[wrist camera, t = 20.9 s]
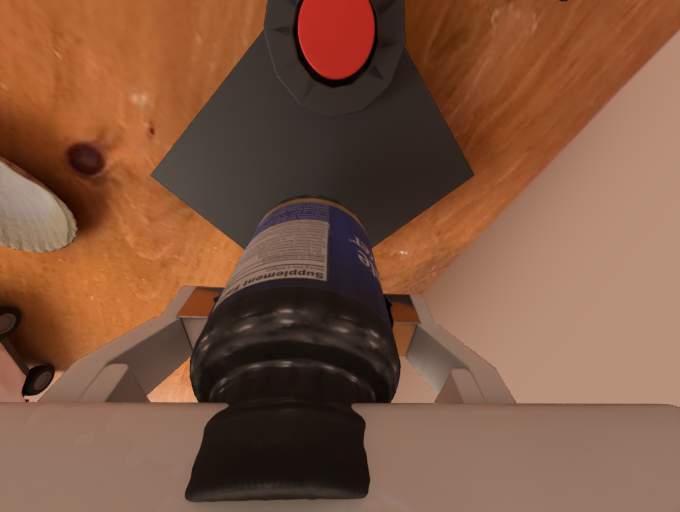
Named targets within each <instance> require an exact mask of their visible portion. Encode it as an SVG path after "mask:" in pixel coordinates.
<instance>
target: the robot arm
mask: <svg viewBox="0 0 680 512" xmlns="http://www.w3.org/2000/svg"><path fill="white" fill-rule="evenodd" d="M224 289H225V288H222V287H205V286H183V287H182V288H181V289H180V290H179V291H178V293H177V294H176V295H175V297H174V298H173V299H172V301H171V302H170V303H169V305H168V306H167V307H166V309H165V310H164V311H163V313H162V314H161V315H160V317H154V318H152V319H150V320H149V321H147V322H145V323H143V324H141V325H140V326H138V327H136V328H134V329H132V330H131V331H129V332H127V333H125V334H123V335H122V336H120V337H118V338H116V339H114V340H113V341H111V342H109V343H107V344H105V345H104V346H102V347H100V348H98V349H96V350H95V351H93V352H91V353H89V354H87V355H86V356H84V357H82V358H80V359H78V360H77V361H75V362H74V363H73V364H72V365H71V366H70V367H69V368H68V369H67V370H66V371H65V372H64V373H63V374H62V376H61V377H60V378H59V379H58V380H57V381H56V382H55V383H54V384H53V385H52V386H51V387H50V389H49V390H48V391H47V392H46V393H45V394H44V395H43V396H42V397H41V398H40V399H39V400H38V401H37V402H0V512H680V407H677V406H673V405H669V404H517V403H516V401H515V400H514V398H513V396H512V395H511V393H510V391H509V390H508V388H507V387H506V385H505V383H504V381H503V380H502V378H501V376H500V375H499V373H498V371H497V370H496V368H495V367H493V366H492V365H491V364H490V363H488V362H487V361H486V360H484V359H483V358H482V357H480V356H479V355H478V354H477V353H475V352H474V351H473V350H471V349H470V348H469V347H468V346H466V345H465V344H464V343H462V342H461V341H460V340H458V339H457V338H456V337H455V336H453V335H452V334H450V333H449V332H448V331H447V330H445V329H444V328H443V327H442V326H440V325H436V324H435V322H434V320H433V318H432V316H431V314H430V312H429V309H428V307H427V305H426V303H425V301H424V299H423V296H422V295H421V294H386V293H384V294H383V296H384V299H385V303H386V307H387V311H388V315H389V319H390V322H391V326H392V330H393V334H394V338H395V341H396V346H397V350H398V354H399V356H406V358H407V359H408V361H409V362H410V363H411V364H412V365H413V367H414V368H415V369H416V370H417V371H418V373H419V374H420V375H421V376H422V377H423V378H424V380H425V381H426V382H427V383H428V384H429V386H430V387H431V388H432V389H433V390H434V391H435V393H436V394H437V395H438V397H437V398H436V400H435V402H434V403H354V404H352V405H351V407H352V409H353V410H354V411H355V412H357V413H358V414H359V415H361V416H362V417H363V419H364V420H365V422H366V428H365V433H364V448H365V451H366V453H367V462H368V468H369V474H370V485H369V491H368V495H367V496H366V497H365V498H362V499H333V500H331V499H316V500H309V499H298V500H269V501H261V500H249V501H216V502H189V501H188V500H186V499H185V490H186V488H187V486H188V483H189V481H190V478H191V472H192V467H193V464H194V462H195V459H196V456H197V454H198V452H199V449H200V446H201V443H202V439H203V432H204V427H205V426H206V424H207V422H208V421H209V420H210V419H211V418H212V417H213V416H214V415H215V414H216V413H218V412H219V411H221V410H223V409H225V408H227V407H228V406H229V405H228V404H227V403H167V402H150V400H149V399H148V397H147V395H148V394H149V393H150V392H151V391H152V390H154V389H155V388H156V387H157V386H158V385H159V384H160V383H161V382H163V381H164V380H165V379H166V378H167V377H168V376H169V375H170V374H172V373H173V372H174V371H175V370H176V369H177V368H178V367H179V366H181V365H182V364H183V363H184V362H185V361H186V360H187V359H188V358H190V357H191V355H192V352H193V349H194V346H195V342H196V341H197V339H198V338H199V336H200V334H201V332H202V330H203V328H204V326H205V324H206V322H207V320H208V318H209V316H210V315H211V313H212V311H213V309H214V307H215V305H216V303H217V302H218V300H219V298H220V296H221V294H222V292H223V290H224Z"/></svg>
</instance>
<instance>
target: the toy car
mask: <svg viewBox="0 0 680 512" xmlns="http://www.w3.org/2000/svg"><path fill="white" fill-rule="evenodd" d="M20 320H21V315H20V312H19V311H18V310H17V309H15V308H12V307H8V306H0V402H29V400H27V399H26V400H25V399H24V396H25V395H26V396H33V395H37V394H39V393H41V392H42V391H44V390H45V389H46V388H47V387H48V386H49V384H50V383H51V381H52V380H53V377H54V373H55V371H54V368H53V367H51V366H47V365H39V366H35V367H33V368H31V369H30V370H29V368H28V367H27V365H26V364H25V363H24V361H23V360H22V358H21V357H20V356H19V354H18V353H17V351H16V350H15V348H14V347H13V346H12V344H11V343H10V341H9V340H8V339H7V336H8V335H10V334H11V333H12V332H13V331H14V330H15V329H16V328H17V327H18V325H19V323H20Z"/></svg>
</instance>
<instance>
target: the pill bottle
mask: <svg viewBox="0 0 680 512" xmlns="http://www.w3.org/2000/svg"><path fill="white" fill-rule="evenodd" d="M400 368H401V365H400V359H399V354H398V350H397V346H396V341H395V338H394V334H393V330H392V326H391V322H390V319H389V315H388V311H387V307H386V303H385V299H384V296H383V292H382V288H381V283H380V280H379V275H378V272H377V267H376V264H375V261H374V257H373V253H372V249H371V246H370V242H369V238H368V234H367V231H366V229H365V227H364V224H363V223H362V221H361V220H360V218H359V217H358V216H357V215H356V214H355V213H354V212H352V211H351V210H348V209H347V208H346V207H345V206H344V205H343V204H342V203H341V202H340V201H338V200H335V199H333V198H329V197H327V196H322V195H317V194H311V195H301V196H296V197H291V198H288V199H285V200H283V201H282V202H280V203H278V204H276V205H275V206H273V207H272V208H271V209H270V210H269V211H268V212H267V213H266V215H265V216H264V217H263V219H262V220H261V221H260V223H259V225H258V227H257V229H256V231H255V233H254V234H253V236H252V238H251V240H250V242H249V244H248V246H247V247H246V249H245V251H244V253H243V255H242V256H241V258H240V260H239V262H238V264H237V266H236V268H235V270H234V272H233V273H232V275H231V277H230V279H229V281H228V283H227V285H226V287H225V289H224V290H223V292H222V294H221V296H220V298H219V300H218V302H217V303H216V305H215V307H214V309H213V311H212V313H211V315H210V316H209V318H208V320H207V322H206V324H205V326H204V328H203V330H202V332H201V334H200V336H199V338H198V339H197V341H196V342H195V346H194V349H193V352H192V355H191V359H190V380H191V383H192V388H193V391H194V395H195V396H196V398H197V400H198V402H199V403H227V404H228V405H229V406H228V407H227V408H225V409H223V410H221V411H219V412H218V413H216V414H215V415H214V416H213V417H212V418H211V419H210V420H209V421H208V422H207V424H206V426H205V427H204V432H203V439H202V443H201V446H200V449H199V452H198V454H197V456H196V459H195V462H194V464H193V467H192V472H191V478H190V481H189V483H188V486H187V488H186V490H185V499H186V500H188V501H189V502H216V501H249V500H261V501H269V500H298V499H309V500H316V499H331V500H333V499H362V498H365V497H366V496H367V495H368V491H369V485H370V474H369V468H368V462H367V453H366V451H365V448H364V433H365V428H366V422H365V420H364V419H363V417H362V416H361V415H359V414H358V413H357V412H355V411H354V410H353V409H352V407H351V405H352V404H354V403H391V401H392V399H393V397H394V395H395V393H396V390H397V387H398V383H399V378H400Z"/></svg>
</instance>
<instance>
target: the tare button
mask: <svg viewBox="0 0 680 512" xmlns="http://www.w3.org/2000/svg"><path fill="white" fill-rule="evenodd" d="M298 36H299V42H300V46H301V49H302V51H303V54H304V56H305V58H306V59H307V61H308V63H309V64H310V65H311V67H312V68H313V69H314V70H315V71H316V72H317V73H318V74H320V75H321V76H323V77H325V78H328V79H332V80H340V79H344V78H347V77H349V76H351V75H352V74H354V73H355V72H357V71H358V70H359V69H360V68H361V67H362V66H363V65H364V63H365V62H366V60H367V58H368V56H369V55H370V52H371V49H372V46H373V42H374V36H375V21H374V15H373V11H372V8H371V5H370V2H369V0H304V1H303V3H302V6H301V9H300V13H299V18H298Z"/></svg>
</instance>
